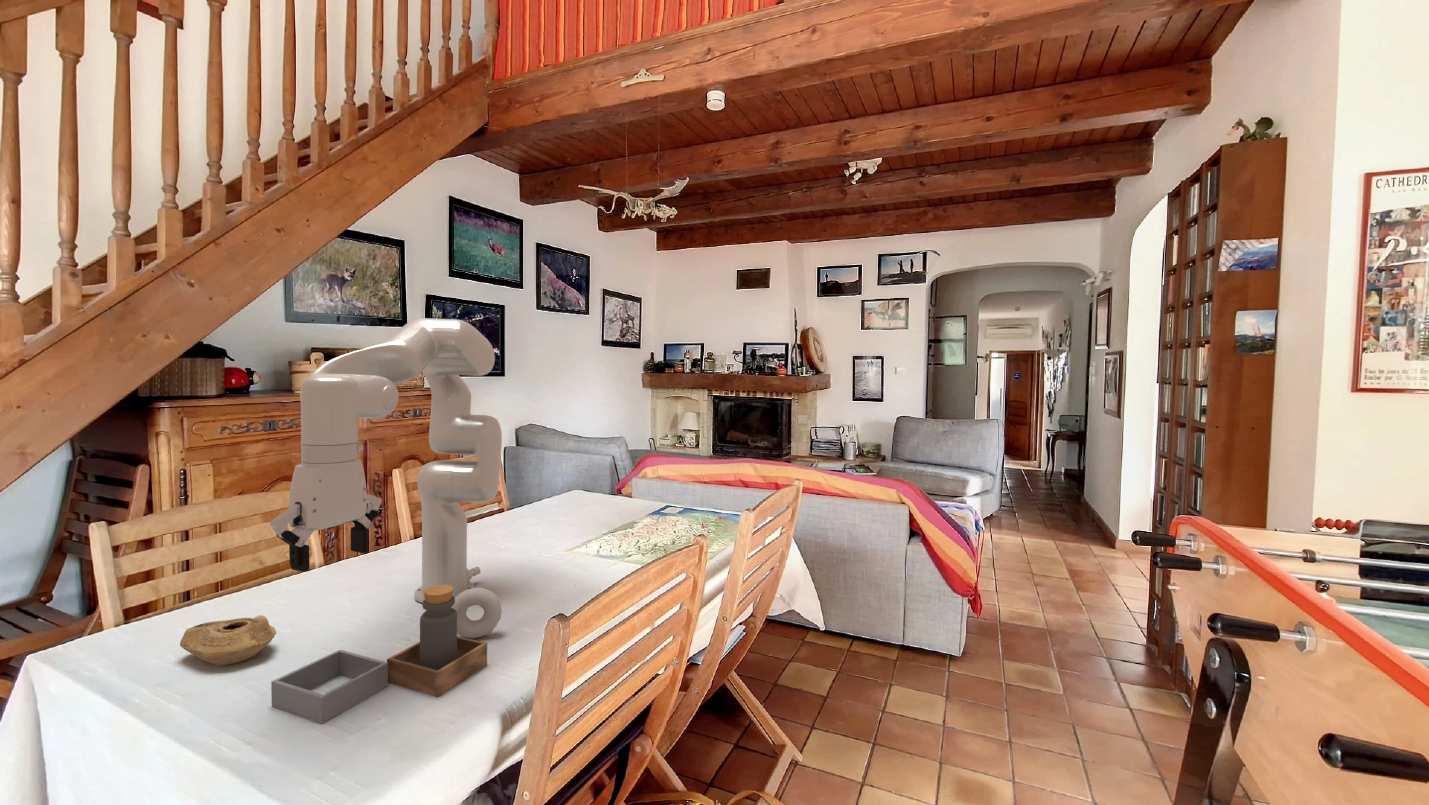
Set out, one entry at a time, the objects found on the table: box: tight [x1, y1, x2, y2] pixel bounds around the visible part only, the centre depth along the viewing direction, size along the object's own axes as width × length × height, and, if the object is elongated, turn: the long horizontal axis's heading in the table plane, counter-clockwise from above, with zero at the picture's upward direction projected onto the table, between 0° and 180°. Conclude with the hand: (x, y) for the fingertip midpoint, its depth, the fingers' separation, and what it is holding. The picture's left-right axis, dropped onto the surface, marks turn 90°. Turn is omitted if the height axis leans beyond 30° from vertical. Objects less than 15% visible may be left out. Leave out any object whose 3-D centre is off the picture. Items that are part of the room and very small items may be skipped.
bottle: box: [419, 585, 458, 670], centre depth 100 cm, size 6×6×15 cm
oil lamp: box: [179, 614, 277, 666], centre depth 103 cm, size 11×15×8 cm
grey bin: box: [270, 649, 389, 725], centre depth 93 cm, size 11×11×4 cm
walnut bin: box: [386, 635, 488, 697], centre depth 101 cm, size 11×11×4 cm
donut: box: [451, 587, 503, 639], centre depth 114 cm, size 10×4×10 cm, turn 106°
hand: (331, 560), depth 92 cm, fingers open, 9 cm apart
